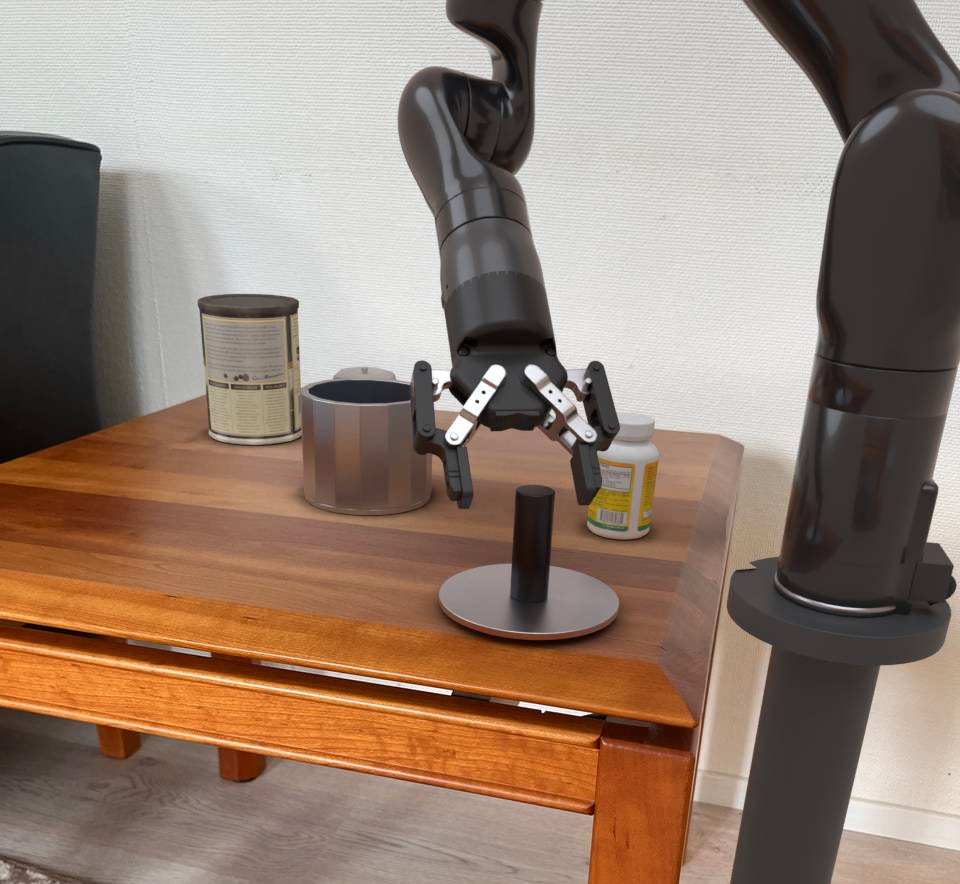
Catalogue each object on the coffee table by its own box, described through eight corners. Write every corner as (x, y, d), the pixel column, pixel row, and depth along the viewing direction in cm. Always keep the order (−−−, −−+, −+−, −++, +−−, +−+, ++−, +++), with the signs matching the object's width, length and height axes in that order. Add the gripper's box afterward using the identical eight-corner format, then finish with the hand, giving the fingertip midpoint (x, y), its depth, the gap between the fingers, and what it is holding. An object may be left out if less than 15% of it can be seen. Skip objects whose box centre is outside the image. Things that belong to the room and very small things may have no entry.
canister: (442, 484, 97) (444, 383, 93) (413, 520, 87) (414, 409, 83) (327, 473, 99) (325, 374, 95) (285, 508, 89) (281, 398, 85)
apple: (406, 432, 115) (407, 373, 112) (337, 434, 113) (336, 374, 110) (390, 415, 122) (390, 359, 119) (324, 418, 120) (323, 361, 117)
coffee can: (195, 427, 113) (184, 294, 107) (283, 419, 118) (277, 292, 112) (225, 449, 105) (215, 307, 99) (318, 440, 110) (314, 304, 104)
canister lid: (623, 586, 75) (635, 473, 72) (611, 658, 64) (624, 528, 60) (458, 569, 77) (462, 458, 73) (419, 636, 66) (421, 509, 62)
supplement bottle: (601, 542, 84) (612, 426, 80) (577, 522, 88) (586, 411, 84) (660, 538, 85) (674, 424, 81) (633, 518, 90) (645, 409, 86)
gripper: (404, 265, 69) (432, 478, 64) (603, 269, 72) (645, 472, 67) (392, 333, 76) (416, 530, 71) (574, 334, 79) (610, 523, 74)
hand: (528, 502), depth 69 cm, fingers open, 8 cm apart
